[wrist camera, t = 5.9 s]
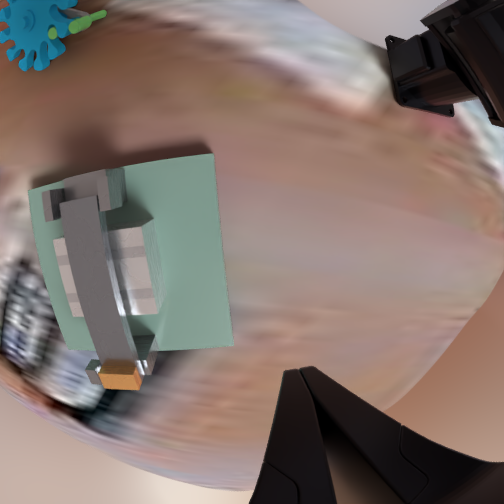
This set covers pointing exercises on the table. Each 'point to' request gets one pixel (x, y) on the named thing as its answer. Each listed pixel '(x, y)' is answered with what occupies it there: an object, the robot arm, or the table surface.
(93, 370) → the post
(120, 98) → the table surface
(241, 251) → the table surface
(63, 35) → the gear
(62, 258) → the heatsink
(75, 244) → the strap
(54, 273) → the board
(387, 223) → the table surface
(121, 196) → the post
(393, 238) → the table surface
